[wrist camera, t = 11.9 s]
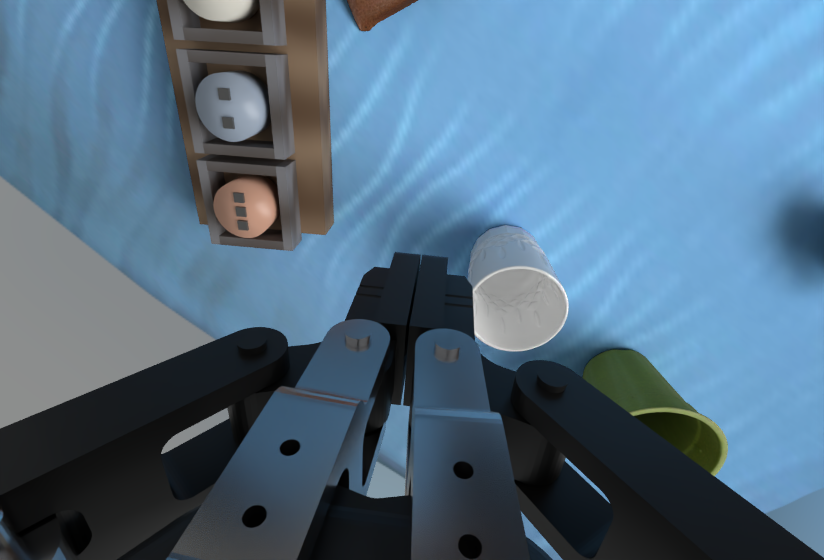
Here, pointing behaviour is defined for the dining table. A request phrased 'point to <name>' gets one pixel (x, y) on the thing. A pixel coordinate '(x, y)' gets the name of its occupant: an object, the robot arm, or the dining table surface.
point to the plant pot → (657, 405)
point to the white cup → (514, 291)
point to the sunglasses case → (375, 11)
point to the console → (289, 107)
